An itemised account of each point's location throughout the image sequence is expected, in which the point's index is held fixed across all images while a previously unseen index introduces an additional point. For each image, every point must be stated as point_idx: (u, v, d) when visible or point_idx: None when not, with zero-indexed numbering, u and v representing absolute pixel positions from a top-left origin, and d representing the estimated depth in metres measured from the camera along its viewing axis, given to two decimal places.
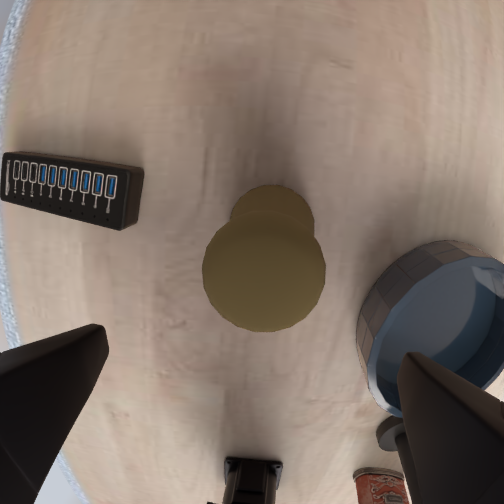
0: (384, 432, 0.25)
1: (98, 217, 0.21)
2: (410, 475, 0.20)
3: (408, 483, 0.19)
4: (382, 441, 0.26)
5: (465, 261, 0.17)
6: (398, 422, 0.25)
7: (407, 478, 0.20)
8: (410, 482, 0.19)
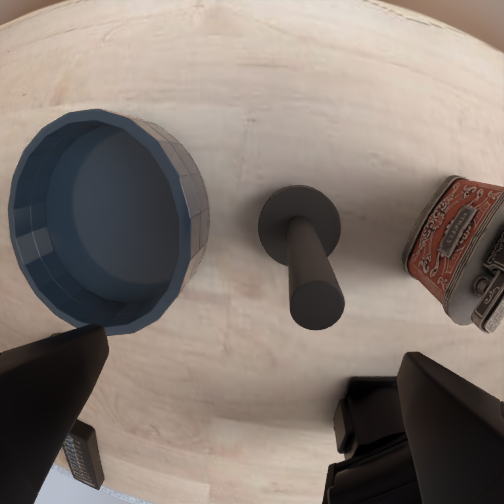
0: (279, 262, 0.20)
1: (84, 448, 0.28)
2: None
3: None
4: None
5: (13, 245, 0.18)
6: None
7: None
8: None
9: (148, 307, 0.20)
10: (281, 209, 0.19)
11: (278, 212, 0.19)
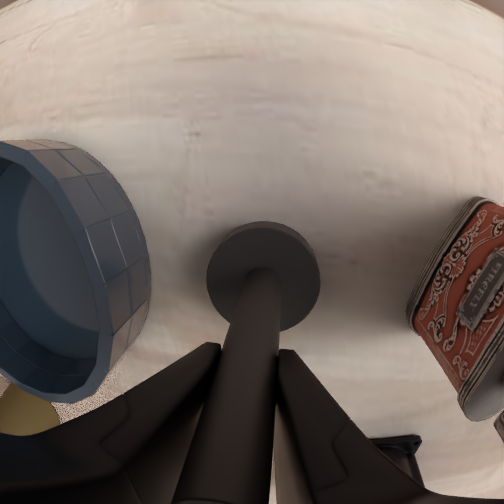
0: None
1: None
2: None
3: None
4: None
5: None
6: None
7: None
8: None
9: (87, 374, 0.15)
10: (235, 259, 0.13)
11: (231, 263, 0.14)
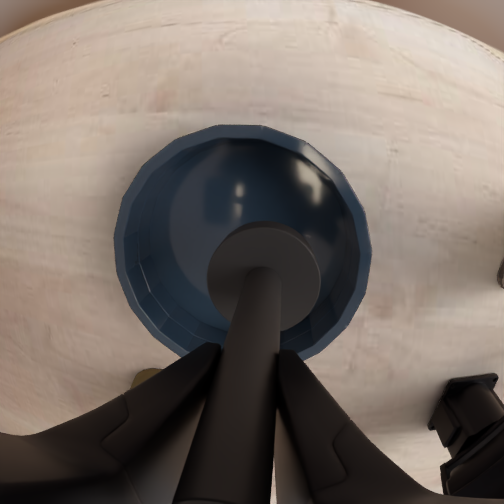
0: None
1: None
2: None
3: None
4: None
5: (122, 280, 0.18)
6: None
7: None
8: None
9: (299, 339, 0.19)
10: (235, 259, 0.13)
11: (232, 263, 0.14)
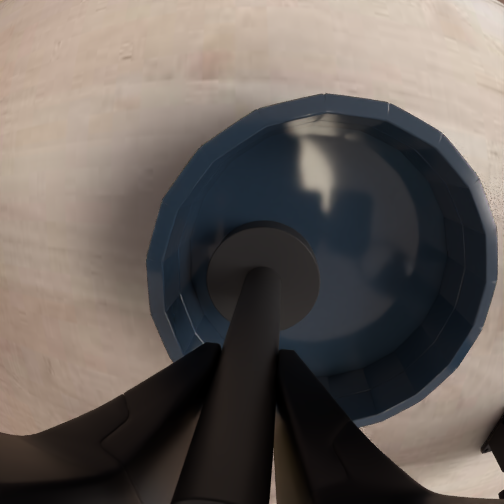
0: None
1: None
2: None
3: None
4: None
5: (159, 323, 0.12)
6: None
7: None
8: None
9: (391, 385, 0.14)
10: (235, 258, 0.13)
11: (231, 262, 0.14)
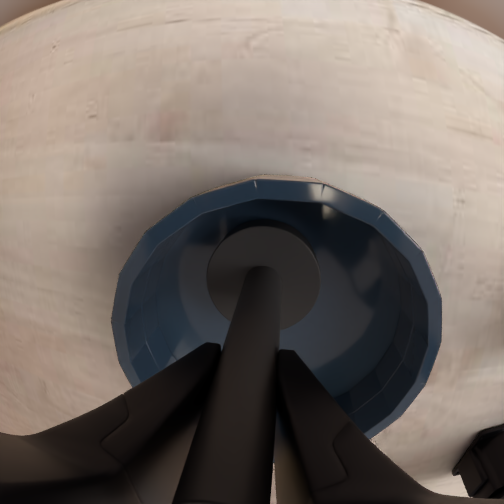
0: None
1: None
2: None
3: None
4: None
5: (126, 370, 0.13)
6: None
7: None
8: None
9: None
10: (236, 257, 0.13)
11: (232, 261, 0.13)
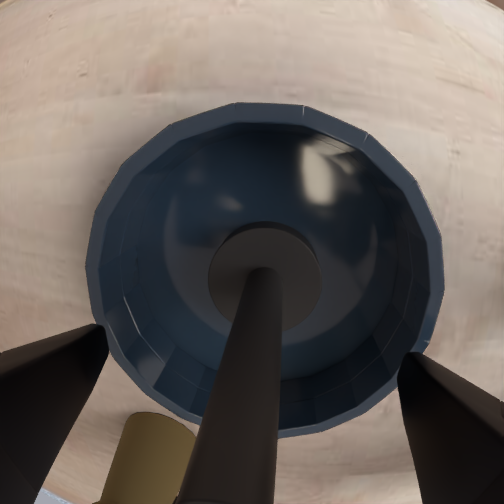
0: None
1: None
2: None
3: None
4: None
5: (100, 324, 0.12)
6: None
7: None
8: None
9: (335, 395, 0.14)
10: (237, 259, 0.13)
11: (233, 263, 0.14)
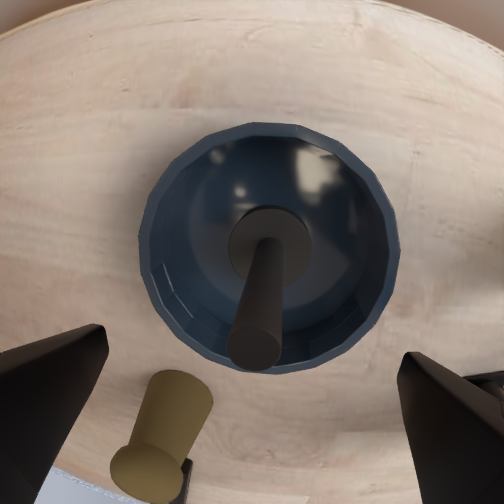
0: None
1: None
2: None
3: None
4: None
5: (146, 280, 0.18)
6: None
7: None
8: None
9: (325, 338, 0.19)
10: (250, 231, 0.19)
11: (247, 234, 0.19)
